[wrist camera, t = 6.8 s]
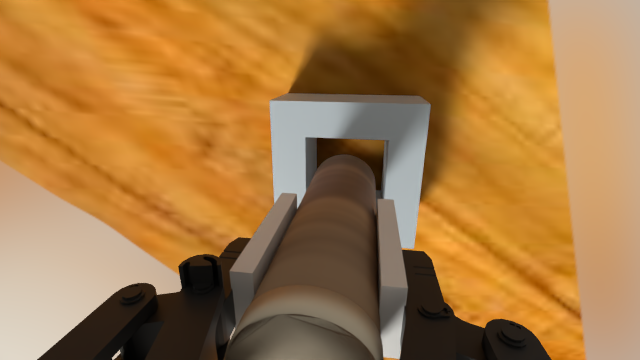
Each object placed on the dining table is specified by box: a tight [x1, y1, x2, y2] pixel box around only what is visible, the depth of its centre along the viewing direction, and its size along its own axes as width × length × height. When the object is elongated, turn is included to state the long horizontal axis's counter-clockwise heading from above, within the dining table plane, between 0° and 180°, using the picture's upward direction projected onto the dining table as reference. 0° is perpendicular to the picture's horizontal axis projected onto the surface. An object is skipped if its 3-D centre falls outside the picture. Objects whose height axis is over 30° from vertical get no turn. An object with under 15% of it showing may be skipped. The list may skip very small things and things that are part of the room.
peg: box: [225, 154, 383, 360], centre depth 15 cm, size 4×4×14 cm
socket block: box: [270, 93, 431, 249], centre depth 25 cm, size 10×10×5 cm
